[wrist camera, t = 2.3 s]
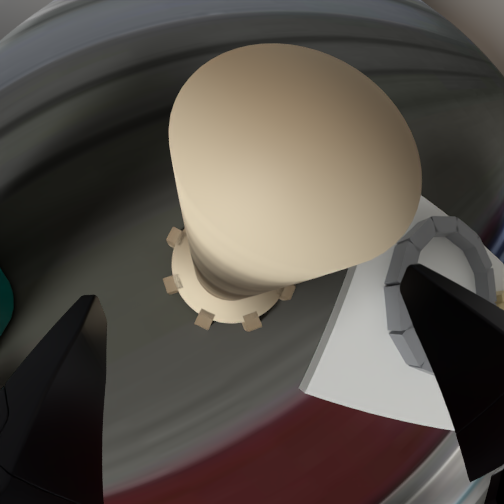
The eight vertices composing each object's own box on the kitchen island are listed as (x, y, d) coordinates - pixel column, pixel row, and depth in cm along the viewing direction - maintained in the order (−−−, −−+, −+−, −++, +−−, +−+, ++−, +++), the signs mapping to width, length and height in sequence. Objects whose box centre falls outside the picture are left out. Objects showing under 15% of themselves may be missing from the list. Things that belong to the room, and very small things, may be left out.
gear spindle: (259, 351, 17) (420, 452, 3) (144, 296, 16) (-26, 245, 3) (308, 240, 19) (481, 116, 5) (201, 187, 18) (212, -25, 5)
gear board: (478, 432, 18) (503, 439, 14) (298, 388, 17) (320, 404, 13) (517, 287, 22) (542, 283, 18) (376, 176, 21) (403, 155, 17)
